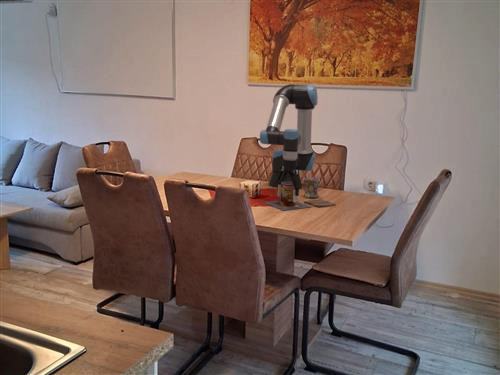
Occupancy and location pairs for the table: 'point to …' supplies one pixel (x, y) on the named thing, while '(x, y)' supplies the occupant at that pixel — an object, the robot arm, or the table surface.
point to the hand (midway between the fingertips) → (287, 199)
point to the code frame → (301, 206)
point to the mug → (311, 187)
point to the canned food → (287, 194)
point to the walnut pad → (319, 203)
